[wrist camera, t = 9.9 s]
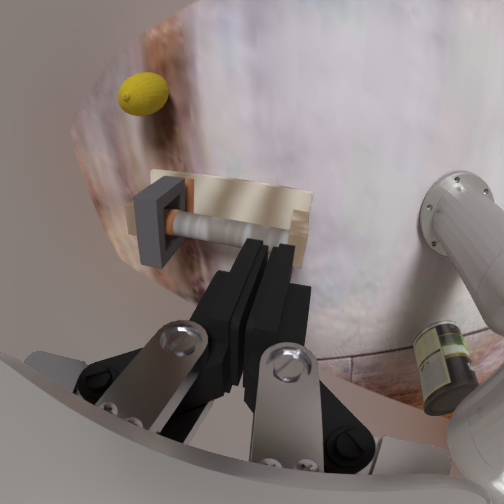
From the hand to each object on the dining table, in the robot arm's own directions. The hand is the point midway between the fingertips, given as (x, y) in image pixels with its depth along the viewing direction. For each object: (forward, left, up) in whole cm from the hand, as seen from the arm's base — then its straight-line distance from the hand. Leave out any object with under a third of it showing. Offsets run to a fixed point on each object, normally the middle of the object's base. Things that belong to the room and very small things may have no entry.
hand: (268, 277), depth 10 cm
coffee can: (-32, +28, -26) cm, 50 cm away
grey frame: (+15, +10, -24) cm, 30 cm away
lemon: (+19, -5, -26) cm, 33 cm away
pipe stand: (+9, +10, -26) cm, 29 cm away
